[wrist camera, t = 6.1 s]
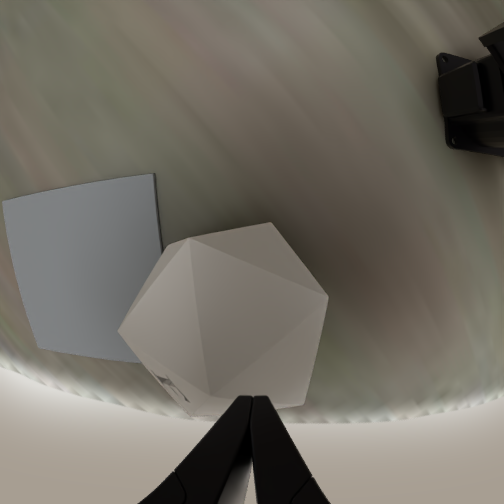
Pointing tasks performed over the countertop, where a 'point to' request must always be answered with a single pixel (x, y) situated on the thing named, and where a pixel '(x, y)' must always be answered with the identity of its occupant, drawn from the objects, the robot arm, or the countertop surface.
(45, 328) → the mat
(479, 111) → the robot arm
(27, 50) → the countertop surface
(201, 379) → the die
